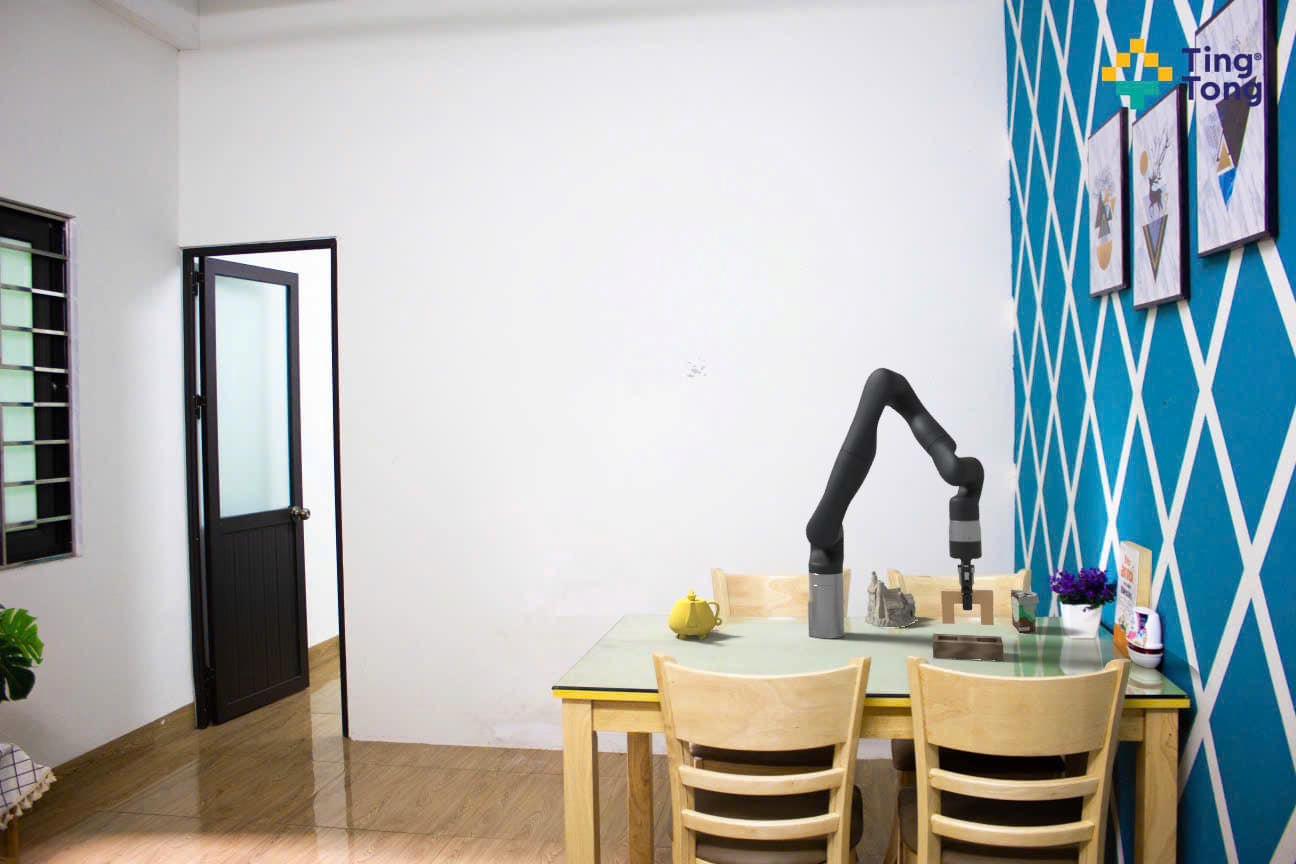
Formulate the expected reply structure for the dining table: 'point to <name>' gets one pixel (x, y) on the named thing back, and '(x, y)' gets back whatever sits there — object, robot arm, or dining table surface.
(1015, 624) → the food container
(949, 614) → the tan u-shaped block
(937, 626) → the dining table surface
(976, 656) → the brown slotted wooden block
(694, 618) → the teapot
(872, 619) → the ceramic cottage
